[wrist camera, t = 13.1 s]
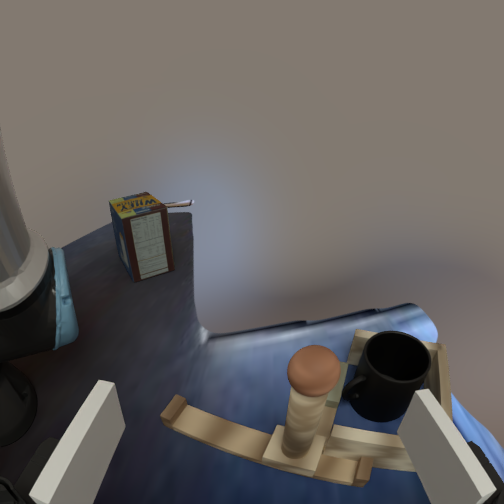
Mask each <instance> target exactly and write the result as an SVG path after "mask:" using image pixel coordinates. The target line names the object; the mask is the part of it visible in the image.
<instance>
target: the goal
mask: <svg viewBox="0 0 504 504" xmlns="http://www.w3.org/2000/svg"><path fill="white" fill-rule="evenodd" d="M375 334H377V333H375V332H370V331H364V330H359V329H356V331H355V335H354V338H353V342H352V345H351V349H350V352H349V356H348V360H347V363H349V364H352V365H357V366H358V364H359V361H360V358H361V355H362V352H363V349H364V346H365V344H366V342H367V341H368V340H369V339H370V338H371V337H372V336H373V335H375ZM421 342H422V343H423V344H424V345H425V346H426V348H427V349H428V351H429V353H430V356H431V368H430V370H429V372H428V374H427V376H426V378H425V380H424V389H429V390H430V392H431V393H432V394H433V396H434V397H435V398H436V400H437V401H438V403H439V404H440V405H441V407H442V408H443V410H444V411H445V412H446V414H447V415H448V417H449V418H450V420H451V421H452V401H451V389H450V377H449V367H448V360H447V351H446V345H445V344H439V343H432V342H426V341H421ZM323 455H328V456H332V457H337V458H342V459H348V460H353V461H359V460H360V458H361V457H368V458H374V459H373V464H372V467H376V468H383V469H392V470H401V471H413V472H416V470H415V468H414V466H413V463H412V461H411V459H410V457H409V455H408V453H407V451H406V449H405V447H404V445H403V443H402V441H401V439H400V437H399V435H392V434H385V433H378V432H372V431H366V430H360V429H355V428H350V427H345V426H340V425H335V424H334V426H333V428H332V431H331V433H330V435H329V438H328V442H327V445H326V447H325V450H324V451H323Z"/></svg>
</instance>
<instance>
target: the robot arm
mask: <svg viewBox="0 0 504 504" xmlns="http://www.w3.org/2000/svg"><path fill="white" fill-rule="evenodd" d="M78 333H79V329H78V324H77V319H76V314H75V309H74V305H73V300H72V295H71V289H70V284H69V279H68V273H67V267H66V261H65V255H64V252H63V250H62V249H61V248H54V247H52V248H50V249H49V250H48V247H47V244H46V242H45V240H44V238H43V237H42V236H41V235H40V234H39V233H37V232H36V231H34V230H32V229H29V228H26V225H25V222H24V219H23V216H22V213H21V210H20V207H19V204H18V200H17V197H16V194H15V190H14V186H13V183H12V179H11V175H10V171H9V167H8V163H7V159H6V154H5V150H4V145H3V140H2V135H1V129H0V446H5V445H8V444H11V443H13V442H15V441H16V440H18V439H19V438H20V437H21V436H22V435H24V433H25V432H26V431H27V430H28V428H29V427H30V425H31V424H32V422H33V420H34V417H35V414H36V409H37V397H36V393H35V390H34V388H33V386H32V385H31V383H30V382H29V380H28V379H27V378H26V376H25V375H24V374H23V373H22V372H21V371H19V370H18V369H17V368H16V367H15V366H13V365H12V364H11V363H10V362H9V361H10V360H14V359H17V358H21V357H25V356H29V355H33V354H37V353H41V352H45V351H48V350H52V349H53V350H56V349H58V347H61V346H64V345H66V344H69V343H72V342H74V341H75V340H76V338H77V337H78ZM124 429H125V423H124V419H123V416H122V412H121V408H120V404H119V400H118V396H117V392H116V387H115V383H111V382H107V381H102V380H99V381H98V382H97V384H96V385H95V387H94V388H93V390H92V391H91V393H90V394H89V396H88V397H87V399H86V400H85V402H84V404H83V405H82V407H81V408H80V410H79V411H78V413H77V414H76V416H75V418H74V419H73V421H72V422H71V424H70V426H69V427H68V429H67V430H66V432H65V434H64V435H63V437H62V439H61V440H57V439H55V438H52V437H49V438H48V439H46V440H45V441H44V442H42V443H41V444H40V445H39V447H38V449H37V450H36V452H35V455H33V456H32V458H31V459H30V462H29V463H28V464H27V466H26V467H25V469H24V471H23V472H22V474H21V476H20V477H19V479H18V480H17V482H16V484H15V485H14V486H13V485H12V483H10V482H9V481H8V480H7V479H6V478H4V477H1V476H0V504H93V502H94V500H95V497H96V495H97V492H98V490H99V487H100V485H101V482H102V480H103V478H104V475H105V473H106V470H107V468H108V466H109V463H110V461H111V459H112V456H113V454H114V452H115V449H116V447H117V445H118V442H119V440H120V438H121V435H122V433H123V431H124ZM397 433H398V435H399V437H400V439H401V441H402V443H403V445H404V447H405V449H406V451H407V453H408V455H409V457H410V459H411V461H412V463H413V466H414V468H415V470H416V472H417V474H418V476H419V478H420V480H421V482H422V484H423V487H424V489H425V491H426V493H427V495H428V497H429V500H430V502H431V504H504V483H503V481H502V479H501V478H500V476H499V475H498V473H497V472H496V470H495V469H494V467H493V466H492V464H491V463H489V462H490V461H489V460H488V458H487V457H485V454H484V452H483V451H482V450H481V448H480V447H479V446H478V445H476V444H475V443H473V442H472V441H471V442H468V443H466V441H465V440H464V438H463V437H462V435H461V434H460V432H459V431H458V430H457V428H456V427H455V425H454V424H453V422H452V421H451V420H450V418H449V417H448V415H447V414H446V412H445V411H444V410H443V408H442V407H441V405H440V404H439V403H438V401H437V400H436V398H435V397H434V396H433V394H432V393H431V392H430V390H429V389H424V390H417V391H415V393H414V395H413V398H412V400H411V402H410V405H409V407H408V409H407V411H406V414H405V416H404V418H403V420H402V422H401V424H400V426H399V428H398V430H397Z"/></svg>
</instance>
